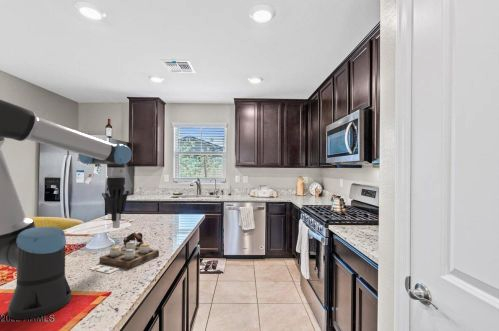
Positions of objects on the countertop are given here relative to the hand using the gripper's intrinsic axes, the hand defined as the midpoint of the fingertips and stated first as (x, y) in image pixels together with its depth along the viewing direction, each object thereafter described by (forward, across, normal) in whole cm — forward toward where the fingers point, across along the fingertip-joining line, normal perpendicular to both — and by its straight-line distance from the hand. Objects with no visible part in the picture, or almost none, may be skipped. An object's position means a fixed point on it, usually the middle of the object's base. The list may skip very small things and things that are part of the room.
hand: (116, 227), depth 118 cm
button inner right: (+13, 0, -9) cm, 16 cm away
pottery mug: (+16, +21, +11) cm, 28 cm away
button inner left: (+13, 0, 0) cm, 13 cm away
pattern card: (+15, -10, -4) cm, 18 cm away
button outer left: (+13, +9, 0) cm, 15 cm away
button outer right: (+13, +9, -9) cm, 18 cm away
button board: (+15, +4, -4) cm, 17 cm away
